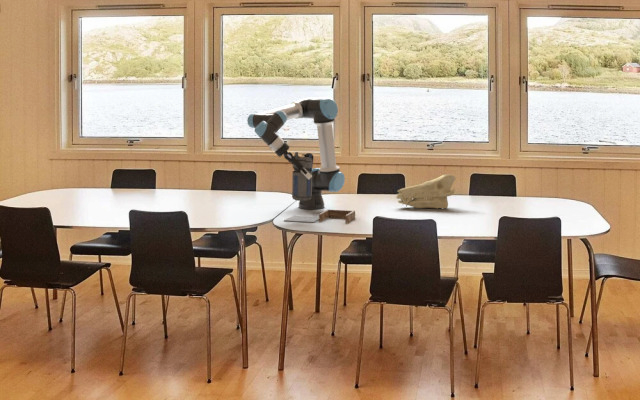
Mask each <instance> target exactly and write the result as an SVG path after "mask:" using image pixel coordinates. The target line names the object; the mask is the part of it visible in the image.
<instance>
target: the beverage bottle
mask: <svg viewBox="0 0 640 400" xmlns="http://www.w3.org/2000/svg"><path fill="white" fill-rule="evenodd" d="M293 156H294V157H295V159H296V160H297V161H298V162H299V163H300V164H301V165H302V166H303V167H304V168H305V169H306V170H307V171H308V172H309V173H310V174H311V175H312V169H313V165H314V164H313V163H314V155H313V154H312V153H310V152H308V153H305V154H304V153H303V154H301V156H299V152H297V151H295V152H294V155H293ZM292 169H293V171H292V177H291V179H292V182H291V183H292V184H291V185H292V188H291V189H292V190H291V198H292V200H295V201H298V202H299V201H308V200H310V199H311V198H312V177H311V178H310V179H309V180H308V179H307V178H306V177H305V176H304V175H303V174H302V173H301V171H300V172H299V171H298V170H299V169H298V168H297V167H296V166H295V165H294V164H293V165H292Z"/></svg>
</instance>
